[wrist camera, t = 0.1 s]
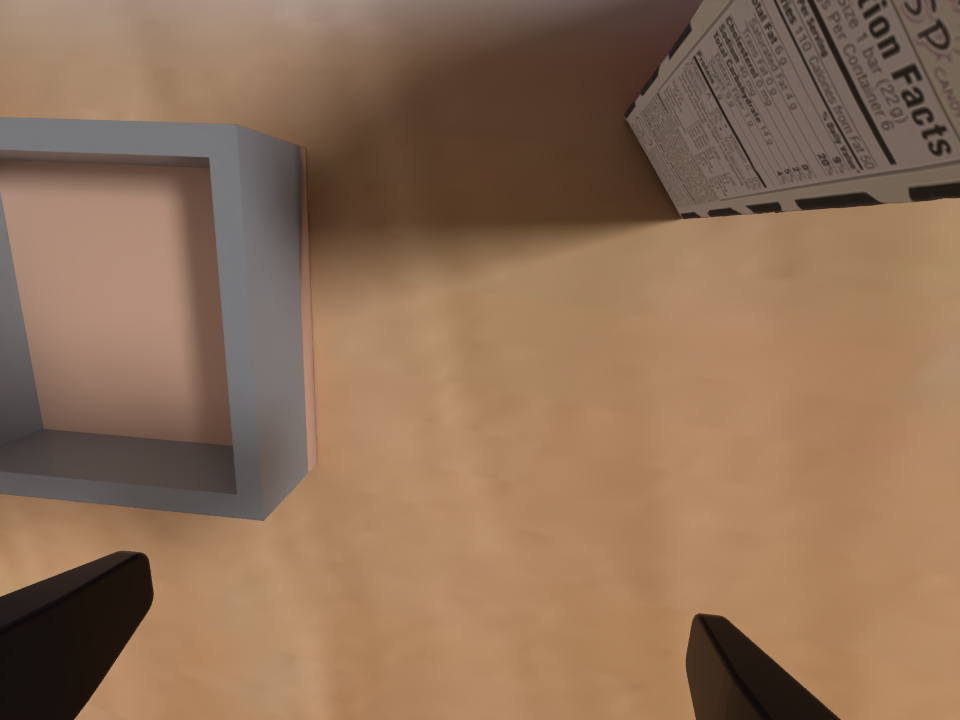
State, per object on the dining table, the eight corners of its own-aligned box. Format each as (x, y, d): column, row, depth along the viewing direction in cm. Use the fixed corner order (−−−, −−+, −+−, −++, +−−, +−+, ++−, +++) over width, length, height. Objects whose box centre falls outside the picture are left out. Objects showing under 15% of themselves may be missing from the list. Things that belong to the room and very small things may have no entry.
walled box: (317, 463, 25) (263, 520, 20) (46, 438, 26) (-66, 486, 21) (305, 148, 21) (236, 124, 16) (-8, 137, 22) (-158, 112, 17)
